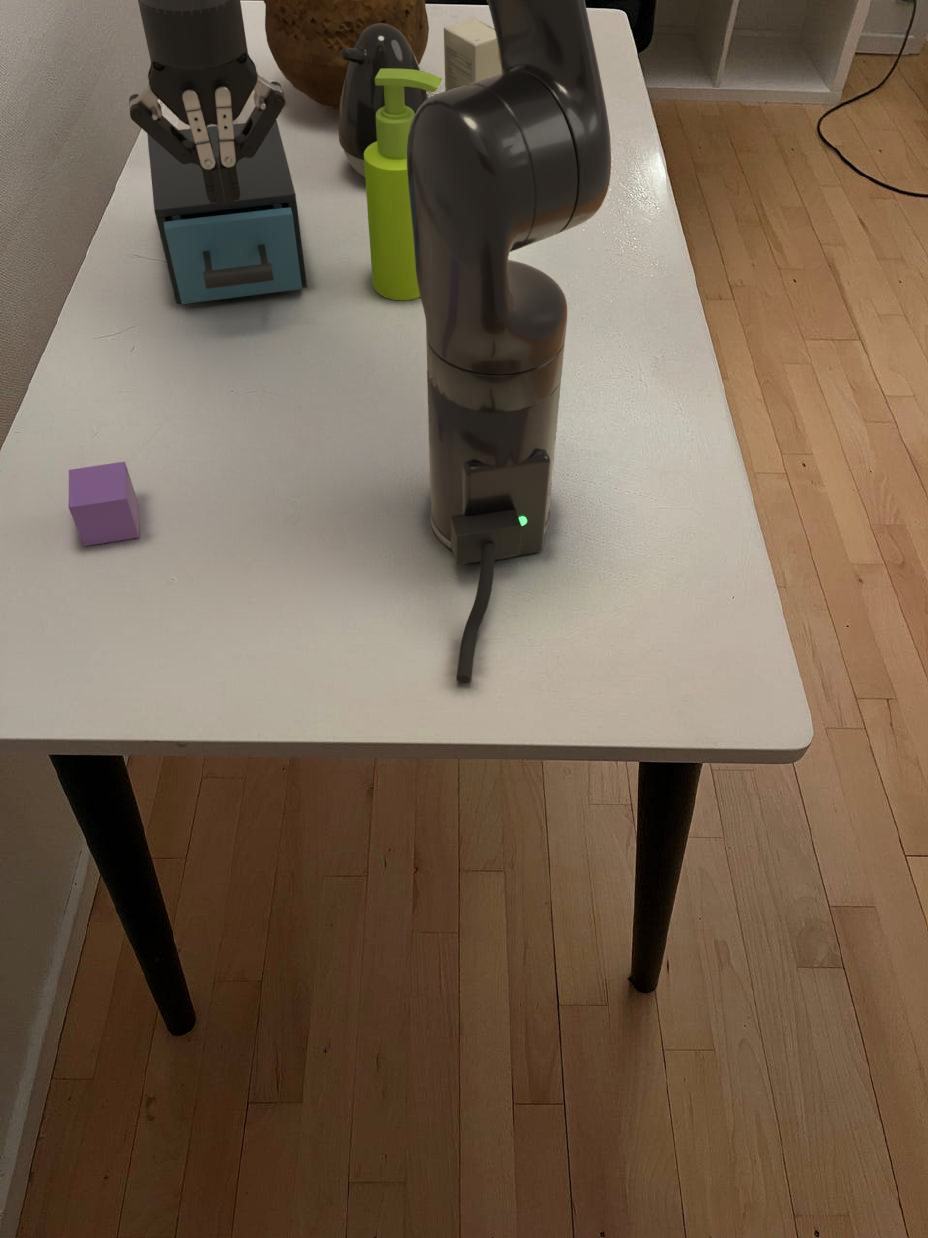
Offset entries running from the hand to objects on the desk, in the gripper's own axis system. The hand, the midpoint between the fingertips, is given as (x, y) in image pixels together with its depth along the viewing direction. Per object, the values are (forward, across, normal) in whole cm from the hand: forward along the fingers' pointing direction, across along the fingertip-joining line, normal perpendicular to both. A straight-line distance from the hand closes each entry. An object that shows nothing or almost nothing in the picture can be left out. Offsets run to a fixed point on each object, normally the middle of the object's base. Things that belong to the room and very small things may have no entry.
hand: (225, 203), depth 92 cm
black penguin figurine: (+11, +18, +23) cm, 31 cm away
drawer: (+10, 0, +5) cm, 11 cm away
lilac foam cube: (+11, -13, -26) cm, 31 cm away
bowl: (+11, +17, +41) cm, 46 cm away
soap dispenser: (+11, +16, +1) cm, 19 cm away
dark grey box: (+11, 0, +10) cm, 15 cm away
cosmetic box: (+11, +29, +27) cm, 41 cm away
